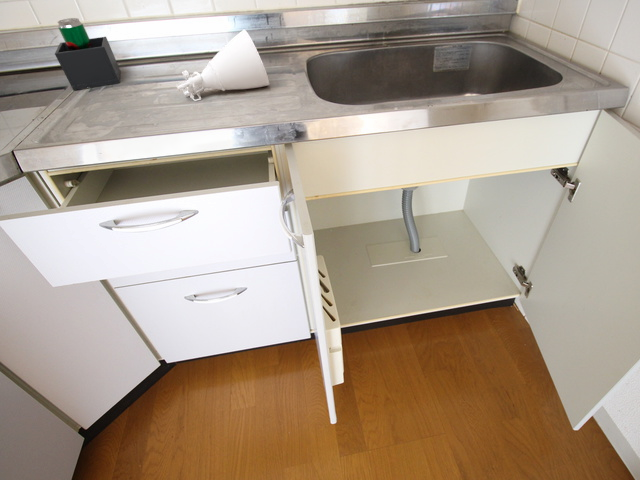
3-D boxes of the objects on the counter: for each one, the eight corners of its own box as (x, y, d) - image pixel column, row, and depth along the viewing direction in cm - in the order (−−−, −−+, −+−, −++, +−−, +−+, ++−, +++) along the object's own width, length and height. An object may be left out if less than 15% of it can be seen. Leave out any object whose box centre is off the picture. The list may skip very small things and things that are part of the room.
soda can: (104, 77, 95) (79, 21, 87) (81, 81, 94) (53, 24, 85) (106, 71, 98) (81, 16, 90) (84, 75, 97) (57, 19, 89)
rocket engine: (157, 53, 77) (241, 17, 79) (174, 77, 88) (247, 46, 91) (186, 107, 78) (267, 71, 80) (199, 125, 90) (270, 93, 92)
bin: (73, 90, 92) (54, 53, 87) (77, 77, 99) (60, 42, 94) (119, 83, 95) (104, 46, 89) (120, 71, 102) (106, 36, 96)
